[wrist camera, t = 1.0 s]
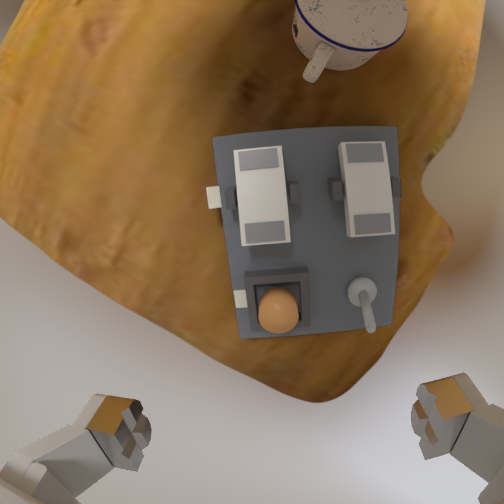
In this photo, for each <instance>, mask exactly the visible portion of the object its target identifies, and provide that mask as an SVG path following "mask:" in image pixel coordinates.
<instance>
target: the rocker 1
mask: <svg viewBox="0 0 504 504" xmlns="http://www.w3.org/2000/svg"><path fill="white" fill-rule="evenodd" d="M233 151H234V163H235V175H236V187H237V198H238V210H239V221H240V233H241V244H242V246H250V245H262V244H274V243H287V242H291V239H290V227H289V216H288V204H287V194H286V183H285V173H284V163H283V154H282V146H271V147H260V148H251V149H241V150H233Z"/></svg>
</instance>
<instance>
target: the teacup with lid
mask: <svg viewBox="0 0 504 504" xmlns="http://www.w3.org/2000/svg"><path fill="white" fill-rule="evenodd" d="M407 21H408V11H407V6H406V3H405V0H295V10H294V16H293V23H292V34H293V38H294V41H295V43H296V45H297V47H298V48H299V50H300V51H301V52H302V53H303V54H304V55H305V56H306V57H307V58H308V59H309V60H310V61H309V63H308V65H307V67H306V68H305V70H304V72H303V78H304V79H305V80H307V81H308V82H311V83H314V82H316V81H317V79H318V78H319V76H320V74H321V73H322V71H323V69H324V68H327V69H332V70H341V71H342V70H351V69H354V68H357V67H359V66H361V65H363V64H364V63H366V62H367V61H368V60H369V59H371V58H372V57H373V56H374V55H376V54H377V53H378V52H379V51H381V50H382V49H385V48H388V47H390V46H392V45H393V44H395V43H396V42H397V41H398V40H399V39H400V38H401V37H402V35H403V34H404V32H405V29H406V26H407Z"/></svg>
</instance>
